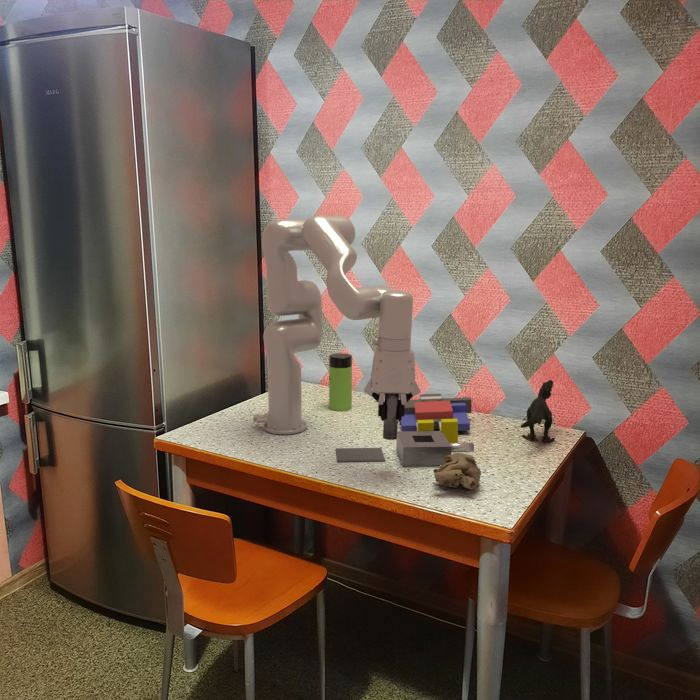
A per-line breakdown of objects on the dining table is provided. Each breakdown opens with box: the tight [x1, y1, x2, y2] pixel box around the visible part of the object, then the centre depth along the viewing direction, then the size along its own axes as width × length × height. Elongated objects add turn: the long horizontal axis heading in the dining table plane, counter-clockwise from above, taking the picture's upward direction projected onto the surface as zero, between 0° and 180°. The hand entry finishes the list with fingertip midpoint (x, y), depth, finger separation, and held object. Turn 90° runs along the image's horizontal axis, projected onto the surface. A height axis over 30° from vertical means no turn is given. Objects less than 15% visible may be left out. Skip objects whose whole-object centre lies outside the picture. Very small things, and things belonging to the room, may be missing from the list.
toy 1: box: [400, 393, 472, 443], centre depth 188 cm, size 26×9×30 cm
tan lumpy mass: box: [433, 452, 482, 490], centre depth 146 cm, size 7×11×15 cm
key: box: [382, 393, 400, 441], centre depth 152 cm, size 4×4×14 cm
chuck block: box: [395, 430, 475, 468], centre depth 164 cm, size 19×12×5 cm, turn 94°
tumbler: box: [328, 352, 353, 412], centre depth 205 cm, size 8×8×17 cm
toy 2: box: [520, 379, 556, 444], centre depth 175 cm, size 9×28×15 cm, turn 151°
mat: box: [335, 447, 386, 463], centre depth 165 cm, size 12×9×1 cm
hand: (390, 418), depth 153 cm, fingers closed on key, 3 cm apart
